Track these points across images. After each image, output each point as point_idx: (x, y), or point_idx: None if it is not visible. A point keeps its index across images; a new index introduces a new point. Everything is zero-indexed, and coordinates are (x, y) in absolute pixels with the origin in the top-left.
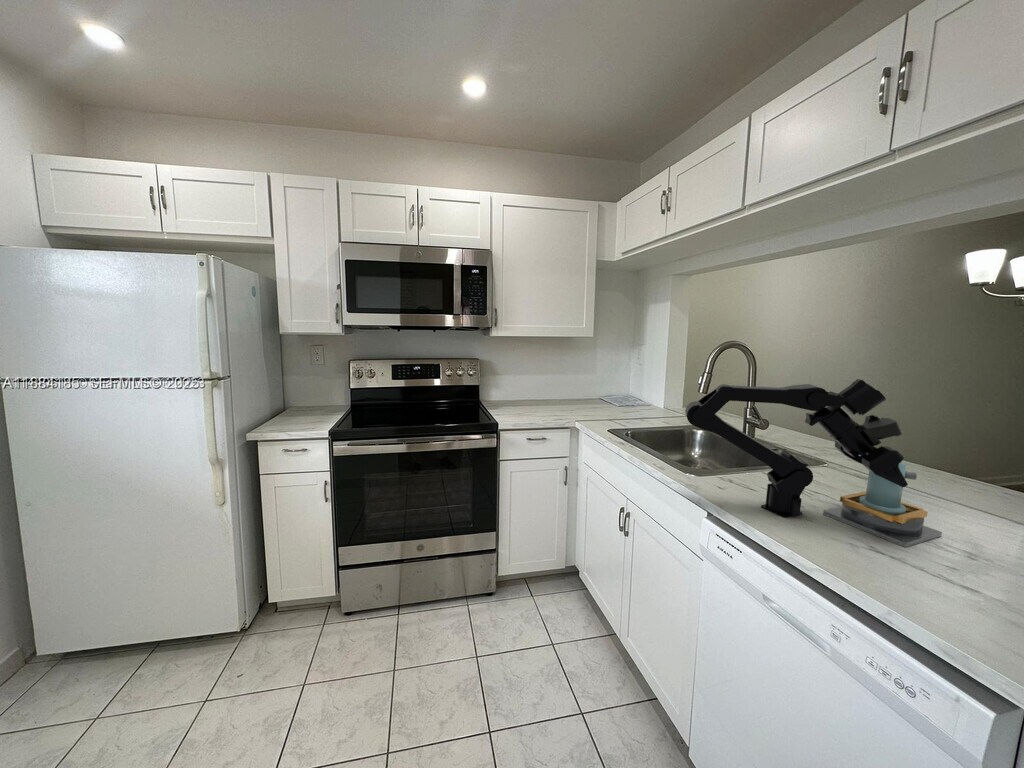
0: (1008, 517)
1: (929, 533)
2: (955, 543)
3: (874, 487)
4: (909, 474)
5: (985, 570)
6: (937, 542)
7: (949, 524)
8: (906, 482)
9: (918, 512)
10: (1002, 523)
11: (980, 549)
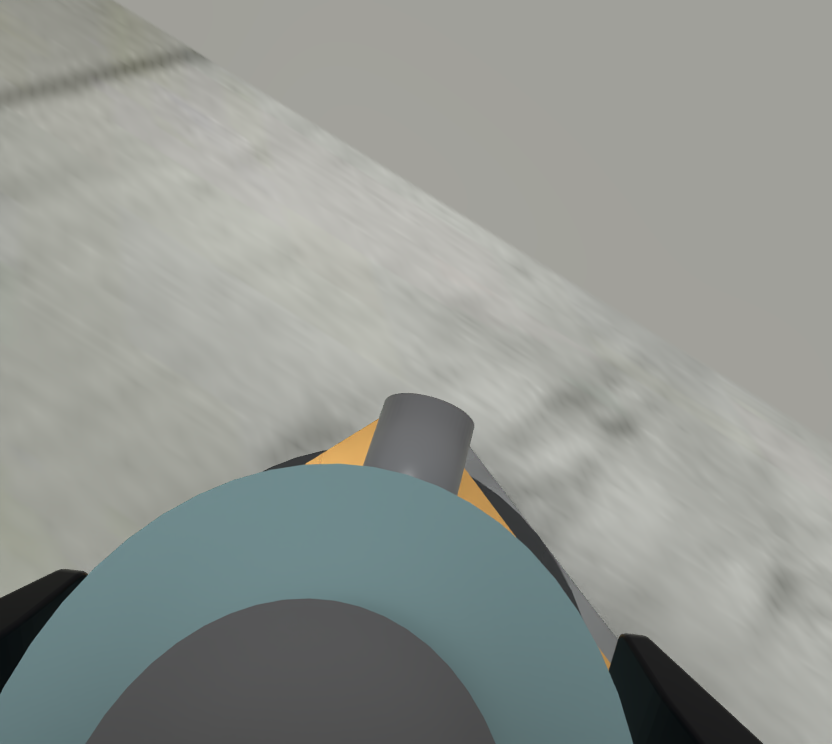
0: (160, 45)
1: (470, 471)
2: (481, 389)
3: None
4: (453, 484)
5: (724, 451)
6: (499, 465)
7: (265, 275)
8: (676, 666)
9: (466, 495)
10: (220, 96)
11: (508, 330)
